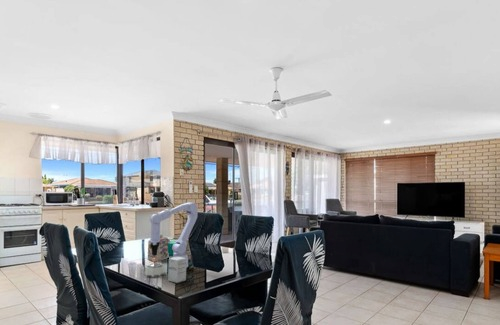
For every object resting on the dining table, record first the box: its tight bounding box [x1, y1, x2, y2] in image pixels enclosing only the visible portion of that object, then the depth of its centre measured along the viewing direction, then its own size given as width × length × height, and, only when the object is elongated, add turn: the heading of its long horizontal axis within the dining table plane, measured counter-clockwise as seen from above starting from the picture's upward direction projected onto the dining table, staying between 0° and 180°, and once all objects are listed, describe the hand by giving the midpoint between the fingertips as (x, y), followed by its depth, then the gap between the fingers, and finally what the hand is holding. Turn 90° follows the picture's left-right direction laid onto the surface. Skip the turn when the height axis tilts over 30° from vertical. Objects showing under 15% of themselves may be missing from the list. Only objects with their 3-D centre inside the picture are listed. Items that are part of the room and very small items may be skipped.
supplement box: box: [167, 256, 187, 284], centre depth 179 cm, size 7×7×13 cm
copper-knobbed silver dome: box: [147, 258, 162, 267], centre depth 192 cm, size 8×8×4 cm
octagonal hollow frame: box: [143, 263, 165, 278], centre depth 192 cm, size 12×11×5 cm
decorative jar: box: [147, 234, 171, 262], centre depth 235 cm, size 12×12×18 cm
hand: (154, 254), depth 200 cm, fingers open, 4 cm apart
